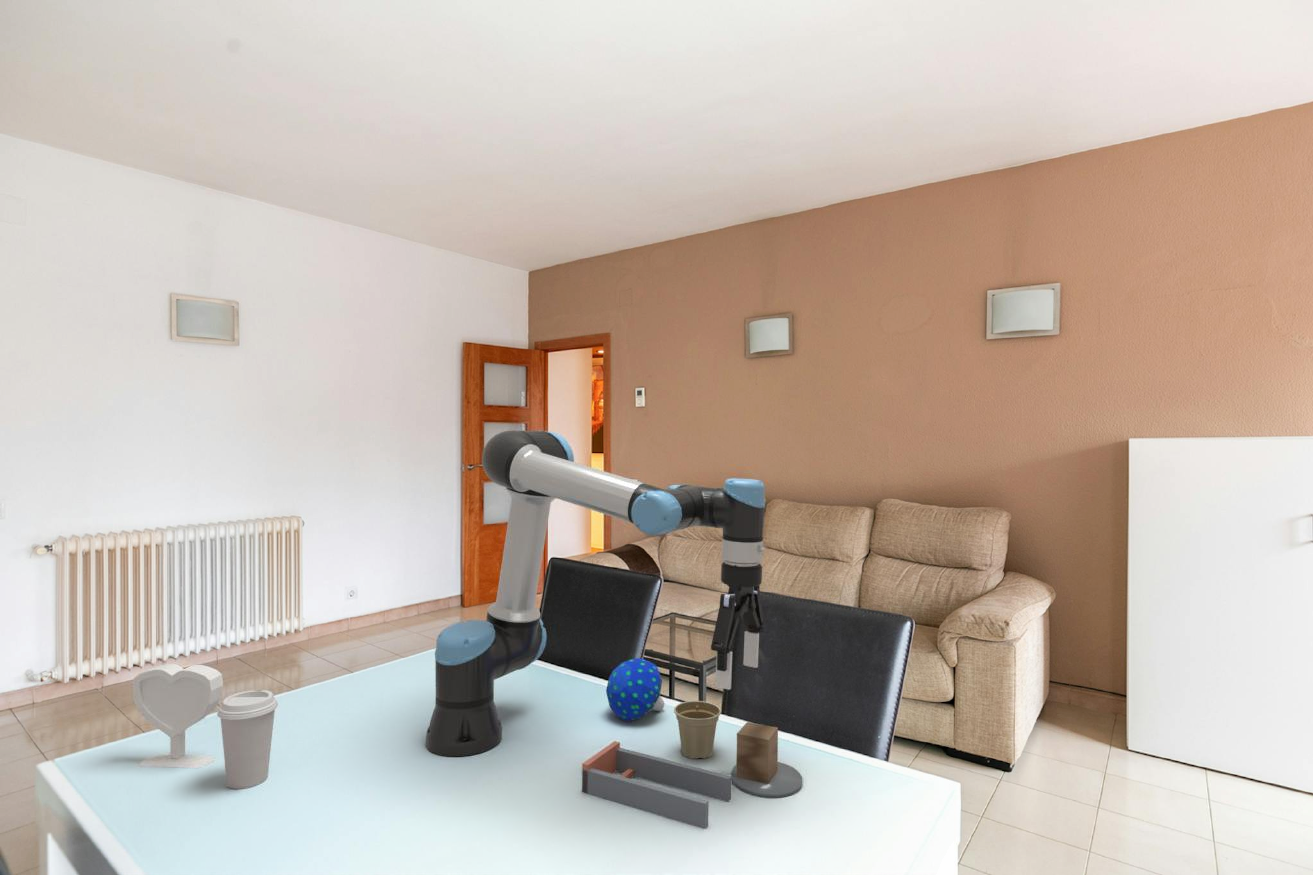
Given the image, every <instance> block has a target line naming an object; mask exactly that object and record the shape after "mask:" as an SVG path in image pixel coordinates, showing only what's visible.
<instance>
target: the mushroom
mask: <svg viewBox="0 0 1313 875" xmlns="http://www.w3.org/2000/svg"><path fill="white" fill-rule="evenodd" d="M658 668H659V667H658V666H657V664H655V663H653V662H651V661H650V660H646V659H644V658H640V657H639V658H638V657H636V658H631V659H628V660H626V661H623V662H621V663H620V664H619V665H618V666H617V667H615V668H614V669H613V670H612V672H611V674H610V676H609V677H608V681H607V685H606V689H605V691H606V692H605V693H606V696H607V701H608V706H609V708H610V709H611V711H612V713H613V714H614V715H615V716H617V717H619V718H620V719H621V720H622V721H624V722H632V721H636V720H640V719H643V718H644V717H645V716H646V715H648V713H649V712H650V711H655V712H661V711H662V710H663V709H664V707H665V701H664V700H663V698H662V697H661V691H662V687H663V686H662V684H663V679H662V677H661V674H660V671H659V669H658Z"/></svg>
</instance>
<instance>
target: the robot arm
mask: <svg viewBox="0 0 1313 875" xmlns="http://www.w3.org/2000/svg"><path fill="white" fill-rule="evenodd" d="M481 456H482V457H481V465H482V469H483V471H484V473H485V475H486V476H487V478H488V479H489V480H491V481H492V483H495V484H496V485H498V486H501V487H504V488H505V490H506V491H507V493H508V494H509V495H510V498H511V501H510V507H509V514H508V521H507V526H506V532H505V534H506V535H505V540H504V546H503V554H502V560H501V568H500V573H499V580H498V587H497V594H496V600H495V602H493V603H492V604H491V605H489V606H488V608H487V611H486V612H487V613H486V619H485V620H482V619H470V620H466V621H460V622H456V623H453V624H451V625H448V626H447V627H445V628H443V629H442V630H441V631H440V632H439V634H438V635H437V637H436V646H435V647H436V648H435V651H434V659H435V662H434V663H435V664H434V665H435V702H434V703H435V704H434V705H435V706H434V709H433V712H432V715H431V719H430V722H429V726H428V727H427V730H426V734H425V746H426V748H427V750H428V751H430V752H431V753H433V754H436V755H439V756H447V757H463V756H464V757H465V756H471V755H475V754H480V753H483V752H486V751H488V750H491V749H493V748H494V747H496V746H497V745H499V744H500V743H501V741H502V738H503V725H502V722H501V720H499V714H498V711H497V710H498V709H497V708H496V704H495V697H494V695H495V693H494V692H495V691H494V690H495V680H497V679H500V678H502V677H504V676H506V675H509V674H511V673H514V672H515V671H518V670H522V669H525V668H527V667H528V666H530V665H531V664H533V663H534V662H536V661H537V660H538V659H539V658H540V657H541V655H542V654H543V652H544V650H545V647H546V645H547V631H546V630H547V629H546V628H545V627H544V622H543V620H542V619H541V612H540V610H539V609H538V608H537V606H536V599H537V594H538V587H539V582H540V575H541V574H540V573H541V567H542V561H543V556H544V555H543V554H544V551H545V542H546V538H547V537H546V535H547V529H548V523H549V518H550V510H551V504H552V502H553V501H555V500H556V499H558V500H561V501H563V502H567V503H570V504H572V505H576V506H579V507H582V508H585V509H587V510H590V511H591V510H592V511H594V512H598V513H600V514H603V515H606V516H609V517H612V518H615V519H619V520H622V521H624V522H628V523H630V524H633V525H634V527H636V528H637V530H639V531H640V532H641V533H643V534H645V535H648V536H664V535H666V534H667V535H668V534H670V533H673V532H676V531H679V530H680V531H681V530H684V529H689V528H692V527H707V528H715V529H722V539H721V557H720V558H721V560H723V562H722V563H721V567H720V581H721V583H723V584H724V585H726V586H727V587H728V591H727V593H726V594H725V593H721V594H720V598H719V608H718V612H717V616H716V621H715V627H714V631H713V636H712V640H711V644H710V650H711V651H714V652H716V654H715V656H716V657H715V659H716V660H715V681H714V684H715V685H714V686H715V688H718V689H719V688H720V689H724V690H729V691H730V690H731V689H732V674H733V673H732V670H733V667H732V666H733V651H731V648H732V646H733V642H734V638H735V636H736V632H737V628H738V625H739V622H740V621H741V620H742V619H743V622H744V624H745V628H746V631H744V635H743V636H744V637H743V638H744V641H743V643H744V644H743V663H742V664H743V666H746V667H750V668H755V669H756V668H759V645H760V644H759V643H760V633H762V634H763V633H764V632H765V627H764V625H765V622H764V614H763V608H762V602H761V601H762V600H761V594H760V591H761V590H760V585H761V584H762V582H763V581H762V580H763V566H762V564H761V563H762V561H763V553H764V552H765V551H766V547H764V546H763V544H764V529H765V528H764V525H765V509H766V502H765V500H766V499H765V498H766V497H765V495H766V494H765V493H766V492H765V485H764V483H763V481H761V480H758V479H753V478H739V477H738V478H735V477H734V478H727V479H726V480H725V481H724V486H723V487H708V486H700V485H699V486H697V485H690V484H687V483H686V484H672V485H670V486H668V487H667V489H665V488H662V487H659V486H654V485H652V484H647V483H644V482H641V481H638V480H634V479H631V478H629V477H626V476H625V477H624V476H621V475H618V474H614V473H611V472H608V471H605V470H603V469H598V468H594V467H591V466H588V465H584V464H580V463H577V462H575V459H574V458H575V457H574V456H575V455H574V452H573V449H572V446H571V445H570V444H569V442H568V441H567V440H566V438H564V436H563V435H562V434H559V433H556V432H554V431H553V432H552V431H549V430H548V431H547V430H541V429H538V430H504V431H502V432H499V433H496V434H495V435H494V436H492V437H491V438H490V439H489V440H488V441H487V443H486V444H485V445H484V448H483V450H482V455H481Z"/></svg>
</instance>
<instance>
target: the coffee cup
mask: <svg viewBox="0 0 1313 875" xmlns="http://www.w3.org/2000/svg"><path fill="white" fill-rule="evenodd" d="M221 703H222V704H221V705H220V706H219V708H218V710H217V713H216V715H217V717H218V718H220V726H221V727H220V728H221V737H222V747H223V758H224V769H225V770H224V771H225V781H226V786H227V788H229V789H233V790H243V789H250V788H253V787H256V786H258V785H260V784H263V783H264V782H265V781H266V780H267V779H268V777H269V769H270V761H271V760H270V757H271V751H272V750H271V747H272V740H273V729H274V720H275V712H276V711H275V710H276V709H277V708H278V707H279V703H278V700H277V698H276V697H275V696H274V693H273V692H272V691H270V690H267V689H266V690H265V689H255V690H254V689H253V690H245V691H242V692H241V691H240V692H237V693H233V694H231V695H228V696H227V697H226V698H224V699H223V700H222V702H221Z"/></svg>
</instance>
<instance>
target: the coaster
mask: <svg viewBox="0 0 1313 875" xmlns="http://www.w3.org/2000/svg"><path fill="white" fill-rule="evenodd" d="M730 776H731V784H733V786H734V787H735V788H737V789H738V790H740V791H741V792H743V793H744V794H745V793H746V794H748V795H750V796H754V797H758V798H766V799H780V798H786V797H789V796H793V795H795V794H797V793H798V792H799V791H800V790H801V789H802V787H803V776H802V775H801V773H800V772H799V771H798V769H796V768H794V767H793V766H790V765H789V764H786V763H783V762H780V761H778V769H777V772H776V773H775V775H774V776H773V778H772V779H771V781H770V782H769V784H765V783H760V782H756V781H751V780H747V779H743V778H738V777H736V776H737V764H736V765H734V767H733V768H732V769H731V771H730Z"/></svg>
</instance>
